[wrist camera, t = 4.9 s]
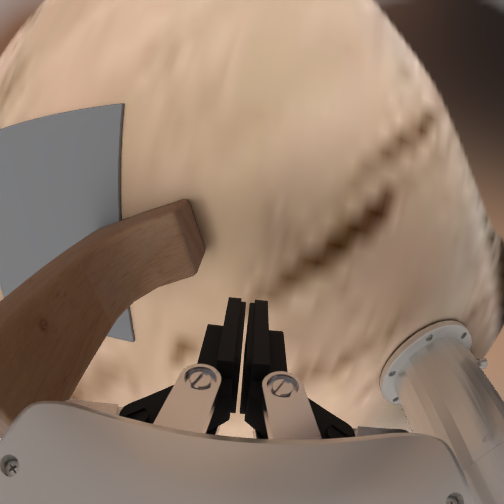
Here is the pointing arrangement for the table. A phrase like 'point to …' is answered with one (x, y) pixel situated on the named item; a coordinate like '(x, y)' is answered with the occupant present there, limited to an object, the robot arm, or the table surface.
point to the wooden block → (87, 302)
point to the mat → (58, 190)
